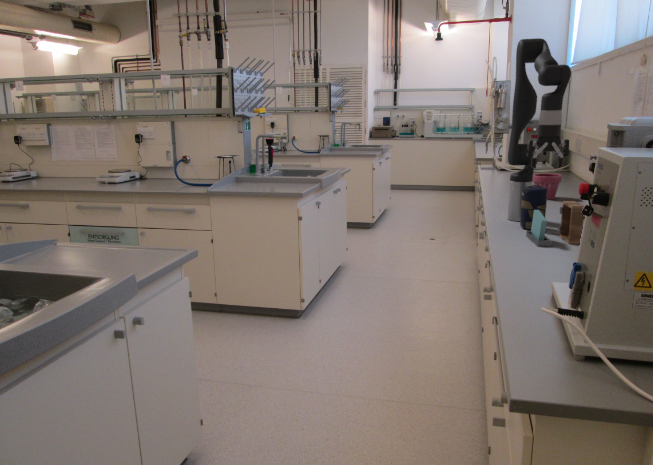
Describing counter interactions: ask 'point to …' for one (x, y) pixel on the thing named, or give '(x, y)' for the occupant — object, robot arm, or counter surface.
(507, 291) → the counter surface
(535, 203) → the canister
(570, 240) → the cabinet
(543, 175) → the plant pot
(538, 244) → the grey rectangular frame
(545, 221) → the door panel
